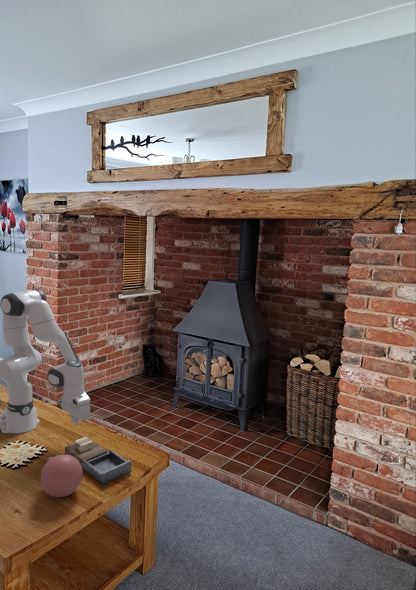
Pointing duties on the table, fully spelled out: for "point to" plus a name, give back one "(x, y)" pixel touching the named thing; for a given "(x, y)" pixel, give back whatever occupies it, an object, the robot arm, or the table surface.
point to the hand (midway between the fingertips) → (75, 423)
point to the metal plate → (85, 452)
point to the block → (83, 444)
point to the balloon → (61, 475)
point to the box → (107, 467)
